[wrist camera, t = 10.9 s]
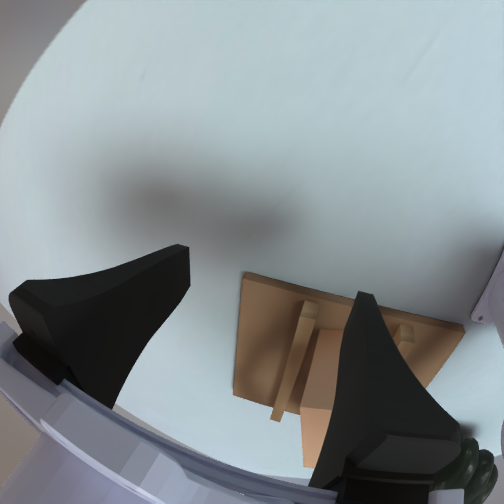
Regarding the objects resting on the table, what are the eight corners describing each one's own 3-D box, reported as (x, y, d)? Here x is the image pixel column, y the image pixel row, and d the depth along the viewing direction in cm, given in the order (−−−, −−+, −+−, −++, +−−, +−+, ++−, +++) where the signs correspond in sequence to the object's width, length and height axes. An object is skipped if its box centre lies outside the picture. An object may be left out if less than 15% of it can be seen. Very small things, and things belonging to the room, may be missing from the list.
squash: (393, 463, 34) (379, 543, 22) (414, 420, 28) (404, 530, 16) (469, 456, 29) (466, 532, 17) (507, 409, 23) (516, 507, 10)
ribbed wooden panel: (463, 325, 20) (469, 349, 18) (386, 425, 30) (384, 445, 27) (246, 271, 25) (233, 292, 23) (235, 388, 34) (226, 407, 32)
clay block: (349, 330, 23) (336, 410, 17) (341, 407, 29) (328, 469, 22) (319, 329, 24) (299, 406, 18) (319, 405, 30) (303, 466, 23)
